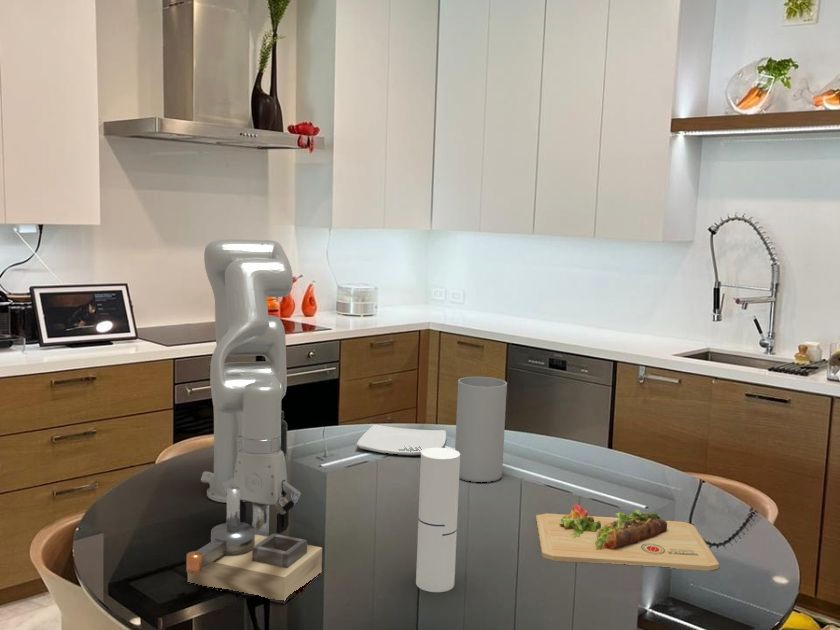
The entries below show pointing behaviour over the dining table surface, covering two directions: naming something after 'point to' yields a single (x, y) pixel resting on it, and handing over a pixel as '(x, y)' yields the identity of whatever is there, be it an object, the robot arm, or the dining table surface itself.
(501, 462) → the cylinder vase
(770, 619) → the dining table surface
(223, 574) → the block
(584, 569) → the dining table surface
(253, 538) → the grey crank lever
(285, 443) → the supplement bottle
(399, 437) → the plate
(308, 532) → the dining table surface
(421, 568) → the cylindrical container
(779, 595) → the dining table surface
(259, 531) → the key peg
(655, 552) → the cutting board
